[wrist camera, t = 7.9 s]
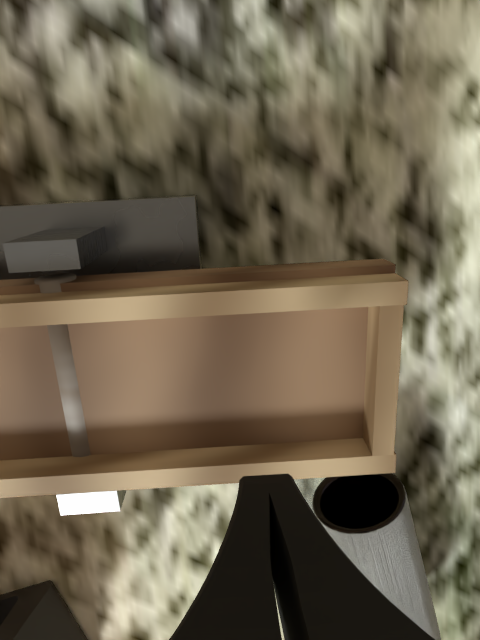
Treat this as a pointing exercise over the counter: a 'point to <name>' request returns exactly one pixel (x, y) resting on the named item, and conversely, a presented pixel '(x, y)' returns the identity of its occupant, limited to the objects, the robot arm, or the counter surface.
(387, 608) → the robot arm
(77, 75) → the counter surface
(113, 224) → the stand
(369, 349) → the wooden tray
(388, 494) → the gray cylinder
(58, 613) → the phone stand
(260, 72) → the counter surface
